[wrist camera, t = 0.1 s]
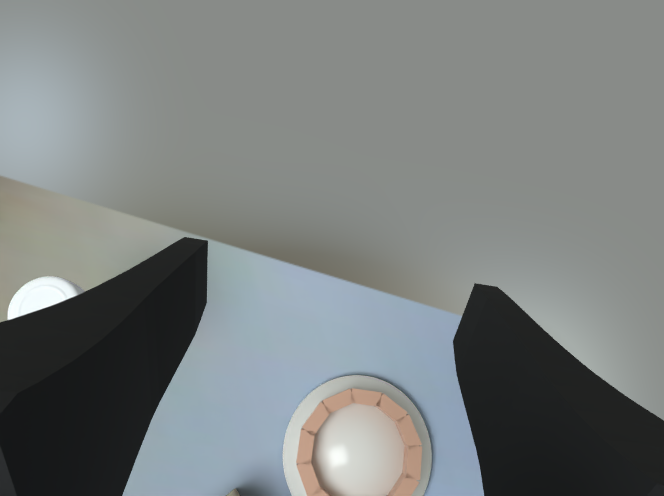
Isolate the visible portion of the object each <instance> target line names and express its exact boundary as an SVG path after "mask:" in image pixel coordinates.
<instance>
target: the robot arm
mask: <svg viewBox="0 0 664 496" xmlns="http://www.w3.org/2000/svg"><path fill="white" fill-rule="evenodd" d="M207 254H208V241H206V240H200V239H193V238H187V237H184V238H182V239H180V240H179V241H177V242H175V243H173V244H172V245H170V246H168V247H167V248H165V249H163V250H162V251H160V252H159V253H157V254H155V255H154V256H152V257H150V258H148V259H147V260H145V261H143V262H142V263H140V264H138V265H136V266H135V267H133V268H131V269H129V270H128V271H126V272H124V273H122V274H120V275H118V276H116V277H114V278H112V279H110V280H108V281H106V282H104V283H102V284H101V285H99V286H97V287H94V288H92V289H90V290H88V291H86V292H83V293H81V294H79V295H77V296H74V297H72V298H69V299H67V300H64V301H62V302H59V303H57V304H54V305H52V306H49V307H46V308H43V309H40V310H37V311H34V312H31V313H28V314H25V315H22V316H19V317H16V318H13V319H10V320H7V321H4V322H0V496H122V495H123V492H124V489H125V487H126V484H127V481H128V479H129V476H130V473H131V471H132V468H133V465H134V463H135V460H136V457H137V455H138V452H139V450H140V447H141V445H142V442H143V440H144V437H145V435H146V432H147V430H148V427H149V425H150V422H151V420H152V417H153V415H154V413H155V411H156V409H157V407H158V405H159V402H160V400H161V399H162V397H163V395H164V393H165V391H166V389H167V387H168V385H169V383H170V382H171V380H172V378H173V376H174V374H175V372H176V370H177V368H178V366H179V364H180V363H181V361H182V359H183V357H184V355H185V353H186V351H187V349H188V347H189V345H190V343H191V341H192V339H193V338H194V336H195V333H196V331H197V328H198V325H199V323H200V320H201V317H202V314H203V311H204V309H205V306H206V303H207ZM453 345H454V356H455V364H456V372H457V377H458V381H459V385H460V389H461V393H462V397H463V401H464V405H465V408H466V412H467V416H468V420H469V424H470V427H471V431H472V435H473V439H474V442H475V446H476V450H477V455H478V459H479V464H480V469H481V476H482V483H483V489H484V496H664V421H663V420H662V419H660V418H659V417H657V416H656V415H654V414H653V413H650V412H649V411H648V410H646V409H644V408H643V407H642V406H640V405H638V404H637V403H635V402H634V401H632V400H631V399H629V398H628V397H626V396H625V395H624V394H622V393H621V392H619V391H618V390H616V389H615V388H614V387H612V386H611V385H609V384H608V383H607V382H606V381H604V380H603V379H601V378H600V377H599V376H597V375H596V374H595V373H594V372H592V371H591V370H590V369H588V368H587V367H586V366H585V365H583V364H582V363H581V362H580V361H579V360H578V359H576V358H575V357H574V356H573V355H572V354H570V353H569V352H568V351H567V350H565V349H564V348H563V347H562V346H561V345H560V344H559V343H558V342H557V341H555V340H554V339H553V338H552V337H551V336H550V335H549V334H548V333H547V332H545V331H544V330H543V329H542V328H541V327H540V326H539V325H538V324H537V323H536V322H535V321H534V320H533V319H532V318H531V317H530V316H529V315H528V314H526V313H525V312H524V311H523V310H522V309H521V308H520V307H519V306H518V305H517V304H516V303H515V302H514V301H513V300H512V299H511V298H510V297H508V296H507V295H506V294H505V293H504V292H503V291H502V290H500V289H499V288H498V287H494V286H488V285H482V284H474V287H473V290H472V292H471V295H470V298H469V300H468V303H467V306H466V308H465V311H464V313H463V316H462V319H461V321H460V324H459V327H458V329H457V332H456V335H455V337H454V340H453Z"/></svg>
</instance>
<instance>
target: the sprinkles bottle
mask: <svg viewBox="0 0 664 496" xmlns="http://www.w3.org/2000/svg"><path fill="white" fill-rule="evenodd" d="M83 292H85V291H84V290H83V289H82V288H81V287H80V286H78V285H77V284H75V283H73V282H71V281H68V280H66V279H64V278H60V277H56V276H45V277H40V278H37V279H34V280H32V281H30V282H28V283H27V284H25V285H24V286H23V287H21V288H20V289H19V290H18V291H17V293H16V294H15V295H14V297H13V298H12V300H11V302H10V305H9V309H8V320H10V319H13V318H16V317H19V316H22V315H25V314H28V313H31V312H34V311H37V310H40V309H43V308H46V307H49V306H52V305H54V304H57V303H59V302H62V301H64V300H67V299H69V298H72V297H74V296H77V295H79V294H81V293H83Z"/></svg>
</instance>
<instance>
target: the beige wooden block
mask: <svg viewBox="0 0 664 496" xmlns="http://www.w3.org/2000/svg"><path fill="white" fill-rule="evenodd" d="M226 496H240V495H239V493H238V492H237V490H236V488H235V489H234V490H232V491H231V492H230V493H229V494H227V495H226Z"/></svg>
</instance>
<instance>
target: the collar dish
mask: <svg viewBox="0 0 664 496" xmlns="http://www.w3.org/2000/svg"><path fill="white" fill-rule="evenodd" d="M431 464H432V451H431V443H430V438H429V434H428V431H427V428H426V425H425V422H424V420H423V418H422V416H421V414H420V413H419V411H418V410H417V408H416V407H415V405H414V404H413V403H412V402H411V400H410V399H409V398H408V397H407V396H406V395H405V394H404V393H402V392H401V391H400V390H399V389H397V388H396V387H394V386H393V385H391V384H389V383H387V382H385V381H383V380H380V379H377V378H374V377H369V376H362V375H351V376H344V377H339V378H336V379H333V380H330V381H328V382H326V383H324V384H322V385H320V386H319V387H317V388H316V389H314V390H313V391H312V392H311V393H310V394H309V395H307V396H306V397H305V399H304V400H303V401H302V402H301V403H300V404H299V406H298V407H297V409H296V411H295V412H294V414H293V416H292V418H291V420H290V422H289V425H288V428H287V431H286V434H285V439H284V445H283V467H284V473H285V478H286V481H287V485H288V487H289V490H290V492H291V494H292V496H423V495H424V493H425V490H426V487H427V485H428V481H429V477H430V472H431Z"/></svg>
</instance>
